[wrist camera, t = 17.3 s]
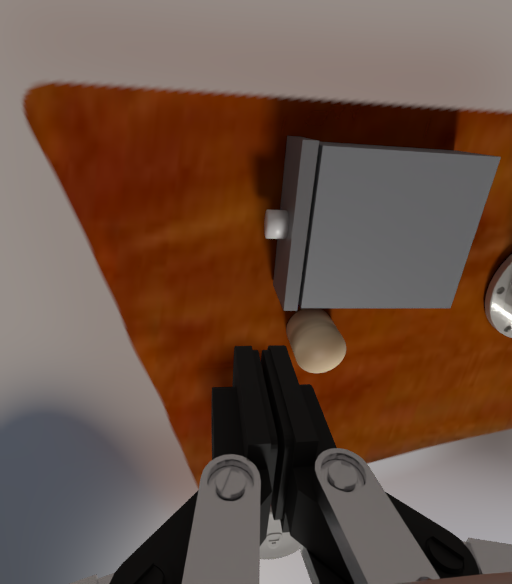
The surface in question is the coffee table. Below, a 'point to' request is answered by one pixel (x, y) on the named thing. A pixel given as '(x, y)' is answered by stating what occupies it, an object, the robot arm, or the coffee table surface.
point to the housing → (392, 225)
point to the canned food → (277, 541)
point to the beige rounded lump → (315, 340)
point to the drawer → (293, 218)
